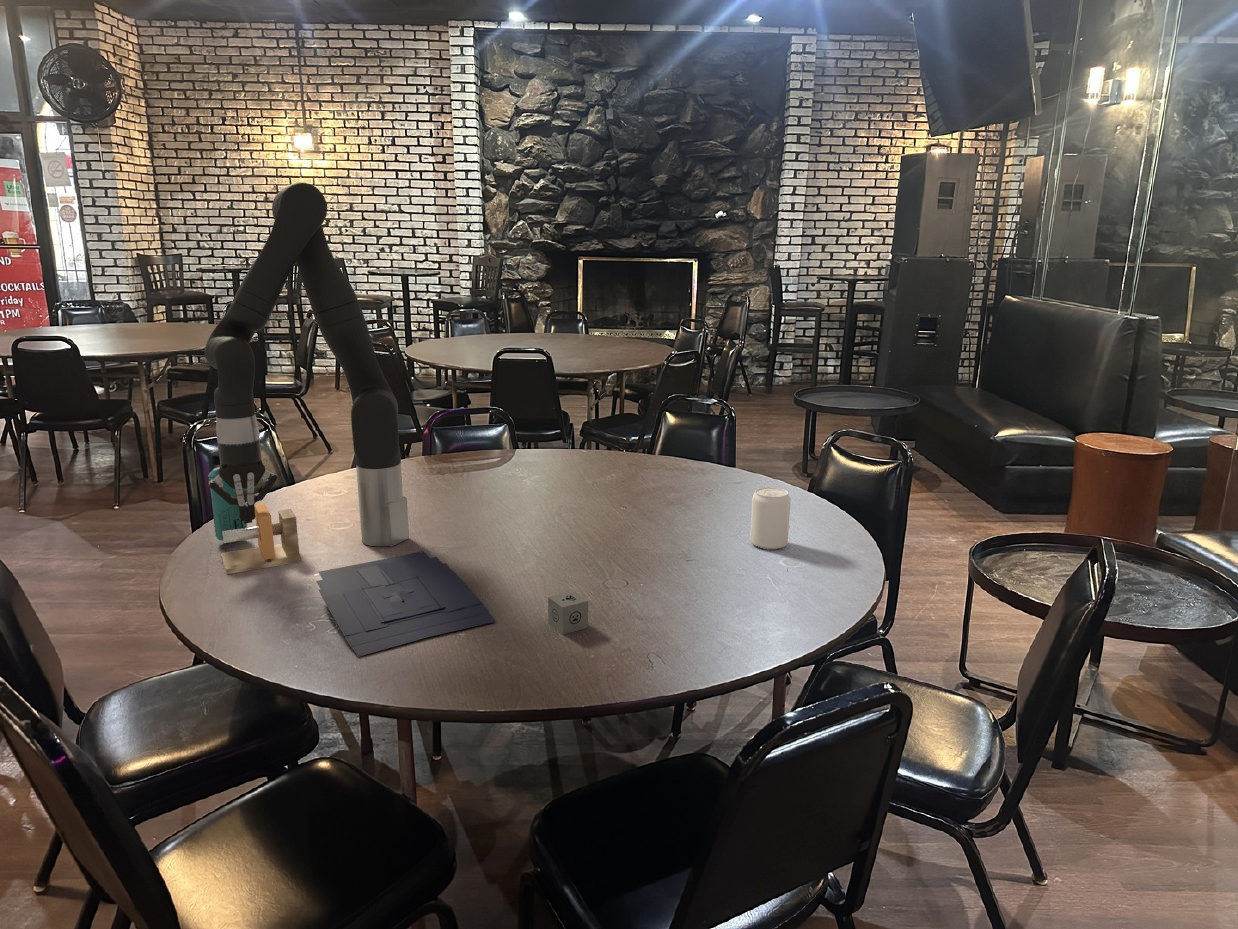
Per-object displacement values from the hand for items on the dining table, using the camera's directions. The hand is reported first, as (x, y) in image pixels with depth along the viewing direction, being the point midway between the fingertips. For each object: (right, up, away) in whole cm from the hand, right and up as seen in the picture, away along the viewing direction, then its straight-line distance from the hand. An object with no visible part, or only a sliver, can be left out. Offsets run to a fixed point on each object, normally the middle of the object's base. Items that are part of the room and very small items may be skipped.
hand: (247, 522), depth 169 cm
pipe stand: (+1, -8, +3) cm, 8 cm away
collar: (+2, -6, +3) cm, 7 cm away
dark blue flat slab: (+35, -14, -18) cm, 42 cm away
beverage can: (+107, -6, +15) cm, 108 cm away
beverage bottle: (-9, -6, +13) cm, 16 cm away
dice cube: (+66, -16, -25) cm, 72 cm away
